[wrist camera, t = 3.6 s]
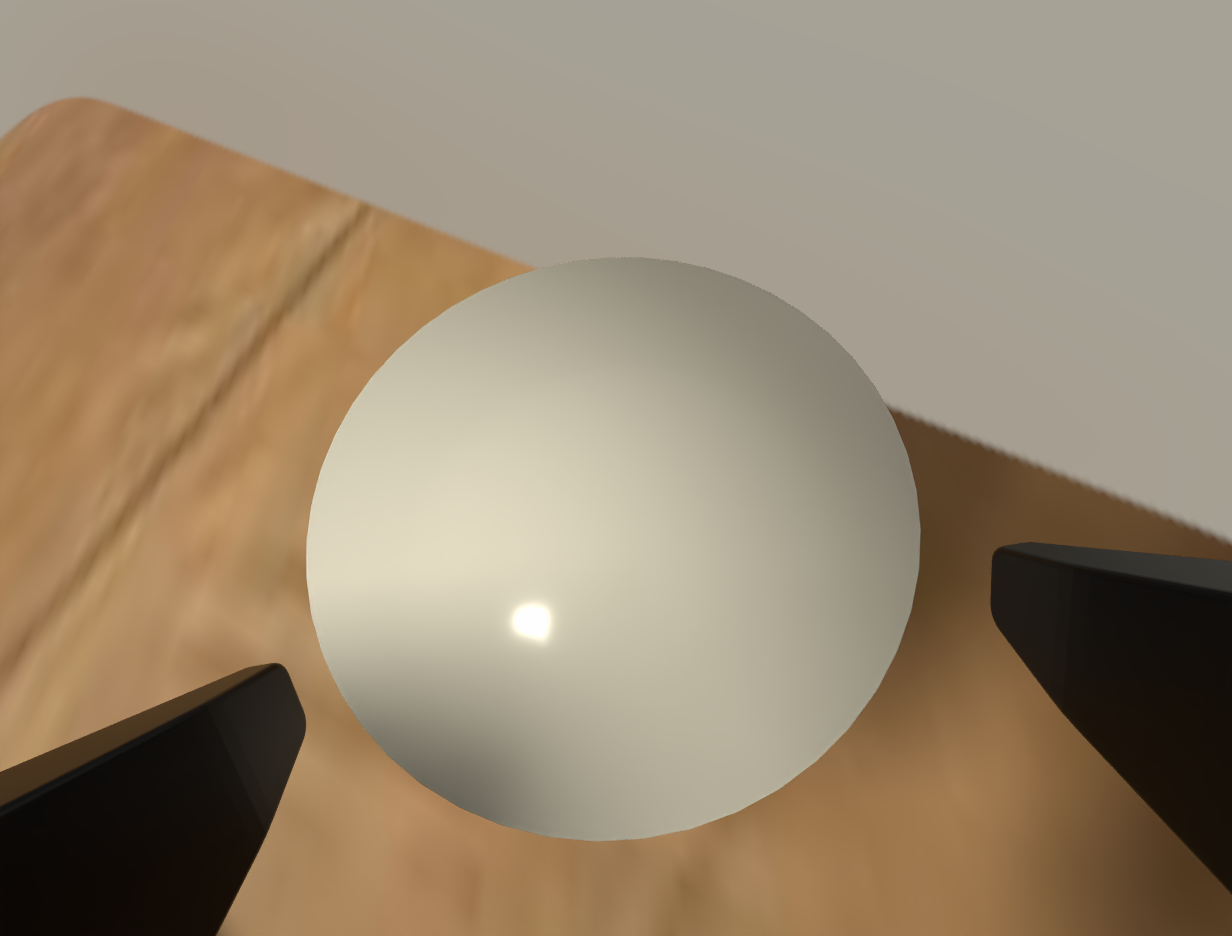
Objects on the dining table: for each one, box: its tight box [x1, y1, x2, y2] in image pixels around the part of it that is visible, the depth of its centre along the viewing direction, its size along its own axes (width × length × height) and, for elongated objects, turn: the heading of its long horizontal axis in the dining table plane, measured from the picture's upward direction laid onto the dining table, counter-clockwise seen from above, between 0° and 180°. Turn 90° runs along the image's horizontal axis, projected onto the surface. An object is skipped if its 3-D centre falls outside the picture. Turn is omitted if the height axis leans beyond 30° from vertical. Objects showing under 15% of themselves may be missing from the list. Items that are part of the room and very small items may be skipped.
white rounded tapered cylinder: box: [307, 258, 921, 841], centre depth 12 cm, size 5×5×12 cm
